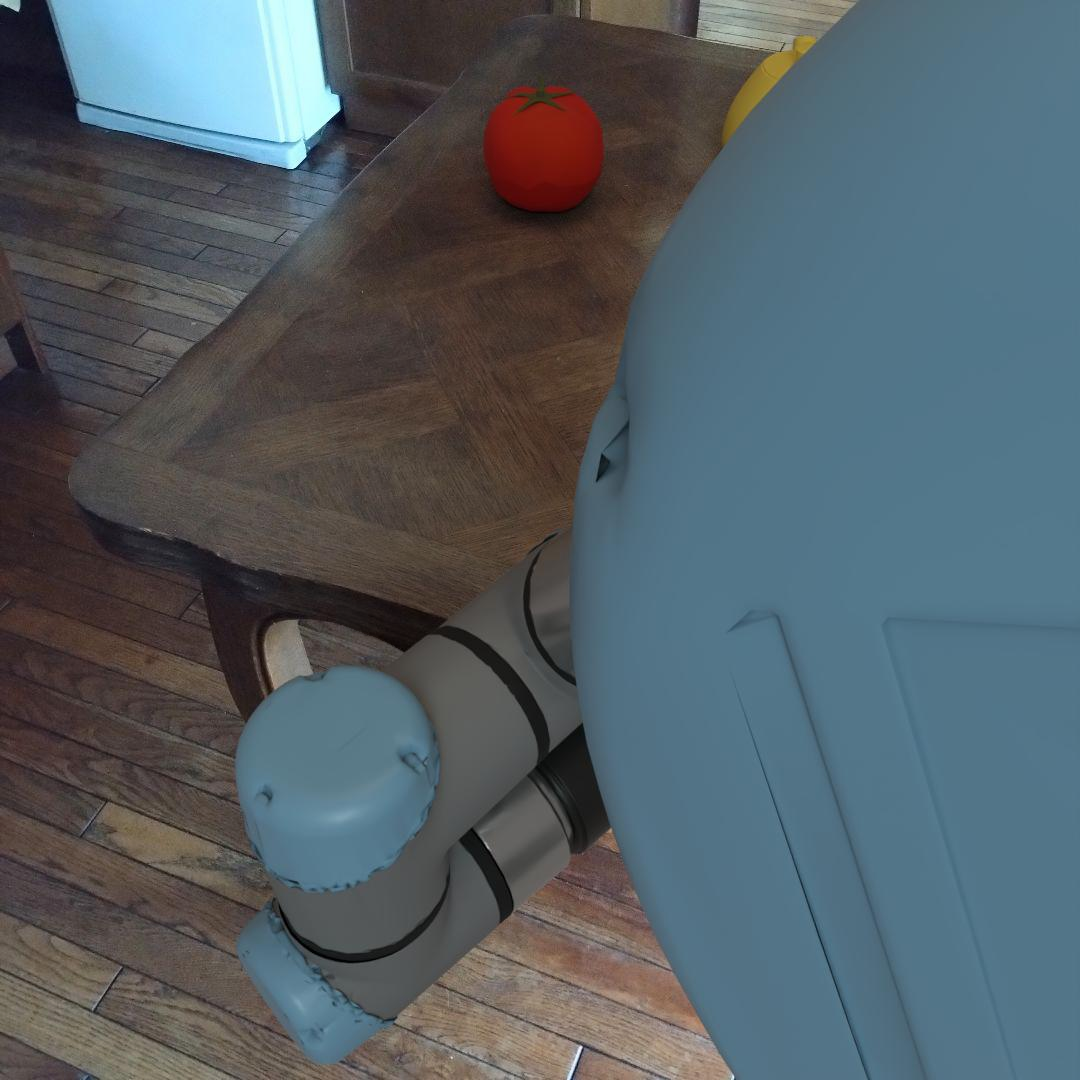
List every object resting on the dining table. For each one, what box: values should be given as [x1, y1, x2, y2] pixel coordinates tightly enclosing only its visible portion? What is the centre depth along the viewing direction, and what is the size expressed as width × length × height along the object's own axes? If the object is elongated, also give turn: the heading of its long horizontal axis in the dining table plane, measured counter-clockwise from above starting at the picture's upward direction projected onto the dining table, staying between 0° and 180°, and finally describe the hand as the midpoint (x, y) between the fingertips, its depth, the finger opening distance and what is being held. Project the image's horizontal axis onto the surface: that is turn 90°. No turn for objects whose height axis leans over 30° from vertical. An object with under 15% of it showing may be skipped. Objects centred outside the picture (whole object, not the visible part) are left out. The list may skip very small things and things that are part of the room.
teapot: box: [720, 35, 818, 148], centre depth 111 cm, size 20×16×14 cm
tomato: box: [482, 74, 605, 213], centre depth 107 cm, size 12×13×12 cm
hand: (787, 589), depth 64 cm, fingers open, 13 cm apart
